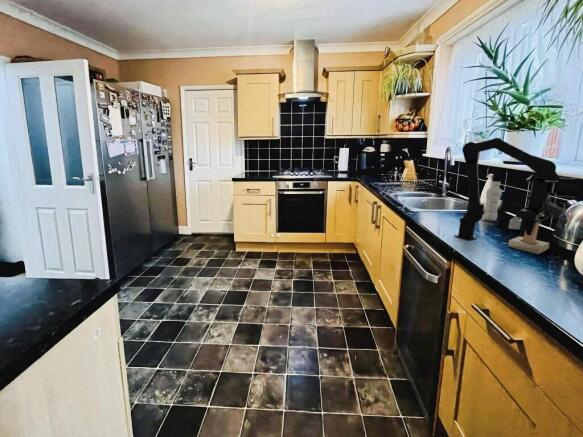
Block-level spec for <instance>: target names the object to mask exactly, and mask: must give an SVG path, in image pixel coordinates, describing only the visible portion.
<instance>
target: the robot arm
mask: <svg viewBox="0 0 583 437" xmlns="http://www.w3.org/2000/svg"><path fill="white" fill-rule="evenodd" d="M494 149H496V150H498V151H500V152H501V153H503V154H505V155H507V156H509V157H511V158H513V159H514V160H517V161H519V162H521V163H523V164H524V165H526V166H527V167H528V168H529V169H531V171H533V172H534V173H536V174H537V175H538V176H540V177H538V176H535V175H534V174H532V175H531V176H530V177H528V178H526V181H527V182H532V183H531V187H530V192H529V195H527V197H526V199H527V200H528V201H527V205H526V206H525V207H524V208H523V209H520V210H518V211H516V212H515V218H519V219H522V221H521V223H522V224H523V226H524V231H525V230H526V233H527V235H531V233H532V231H533V229H534V226H535V224H536V222H540V223H539V226H540V225H541V223H542V221H544V220H547V219H548V218H549V216H551V217H553V218H554V219H555V218H556V219H560V218H562V217H563V215H564V214H565V213H566V212H567V208H566V203H563V202H559V203H558V204H556V203H553V202H551V200H552V198H551V197H550V192H551V193H552V194H554V196H555V197H563V198H564V197H566V198H576V197H577V196H578V193H579V186H580V185H579V184H580V178H578V177H571V178H569V177H560V175H559V174H558V173H557V172H556V170H557V166H556V164H555V163H554V162H553V161H551V160H549V159H546V158H543V157H539V156H536V155H533V154H530V153H528V152H526V151H524V150H521V149H520V148H518V147H516V146H514V145H512V144H510V143H509V142H507V141H504V140H502V138H500V137H494V138H491V139H488V140H483V141H480V142H476V141H469V142H467V143H465V144H464V145H463V146H462V150H461V151H462V154H463V157H464V160H465V164H466V172H467V175H466V176H467V187H468V188H467V190H468V202H467V203H468V204H467V208H466V212H465V213H464V214H463V215H461V217H460V219H459V228H458V232H457V234H455V235H454V237H456V238H460V239H463V240H466V241H473V240H475V239H478V238H477V237H478V236H476V235H475V229H476V223H478V222H480V221H481V220H483V218H482V217H483V214H485V209H484V208H485V205H486V201H483V202H482V201H481V199H480V187H479V186H480V185H479V160H480V159H479V158H480V152H485V151H488V150H494ZM545 177H548V178H549V179H551V180H546V178H545ZM551 188H552V189H551ZM545 215H548V216H545Z"/></svg>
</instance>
